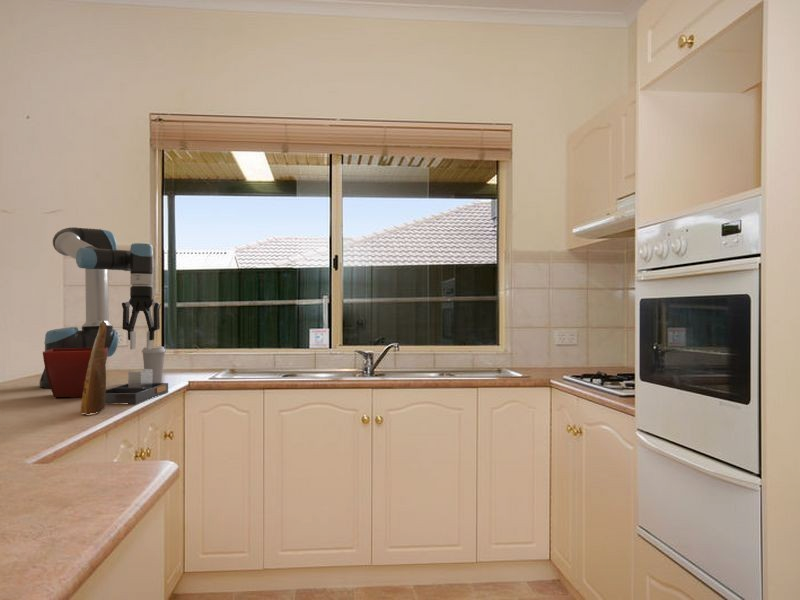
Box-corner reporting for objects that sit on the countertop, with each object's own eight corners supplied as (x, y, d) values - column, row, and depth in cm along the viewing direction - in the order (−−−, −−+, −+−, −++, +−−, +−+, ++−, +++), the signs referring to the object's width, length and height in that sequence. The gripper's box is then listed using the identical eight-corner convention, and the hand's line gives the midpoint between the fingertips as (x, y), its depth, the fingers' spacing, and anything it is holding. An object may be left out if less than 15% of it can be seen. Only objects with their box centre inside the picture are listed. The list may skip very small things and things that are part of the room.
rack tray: (92, 404, 204) (92, 393, 204) (129, 392, 232) (129, 382, 232) (136, 404, 204) (136, 393, 204) (169, 392, 232) (169, 383, 232)
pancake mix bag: (113, 406, 201) (113, 320, 201) (101, 416, 182) (102, 322, 182) (90, 406, 199) (91, 320, 199) (76, 417, 180) (77, 322, 181)
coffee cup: (136, 382, 258) (136, 347, 258) (154, 380, 266) (155, 345, 266) (152, 384, 253) (152, 348, 254) (170, 381, 262) (170, 346, 262)
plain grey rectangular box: (128, 394, 220) (128, 371, 220) (140, 390, 230) (140, 368, 230) (140, 394, 219) (140, 371, 220) (152, 390, 229) (152, 369, 230)
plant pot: (51, 393, 228) (51, 347, 228) (108, 390, 235) (108, 346, 235) (41, 400, 210) (41, 351, 210) (103, 398, 217) (103, 350, 217)
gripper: (111, 285, 221) (111, 349, 221) (162, 285, 221) (161, 350, 221) (121, 286, 229) (120, 348, 228) (170, 286, 228) (169, 348, 228)
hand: (141, 349), depth 225 cm, fingers open, 5 cm apart
